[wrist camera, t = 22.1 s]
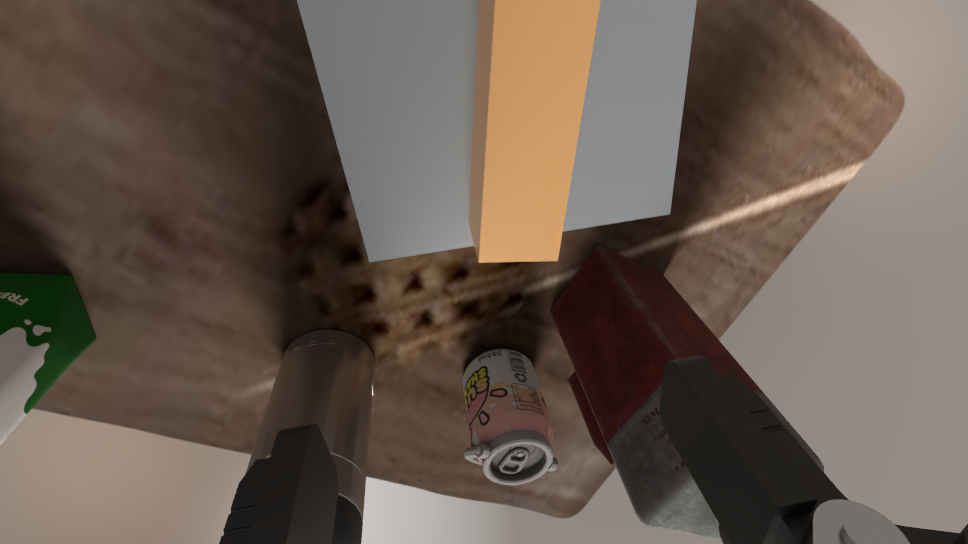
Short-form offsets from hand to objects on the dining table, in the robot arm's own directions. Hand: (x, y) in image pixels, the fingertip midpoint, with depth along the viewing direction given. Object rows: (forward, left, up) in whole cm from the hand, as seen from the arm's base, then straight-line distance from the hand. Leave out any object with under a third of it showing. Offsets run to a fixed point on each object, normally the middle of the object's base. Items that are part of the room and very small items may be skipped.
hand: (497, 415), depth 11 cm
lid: (+2, -4, -21) cm, 21 cm away
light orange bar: (+2, -4, -20) cm, 20 cm away
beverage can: (-30, -2, -31) cm, 44 cm away
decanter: (-22, -14, -31) cm, 41 cm away
